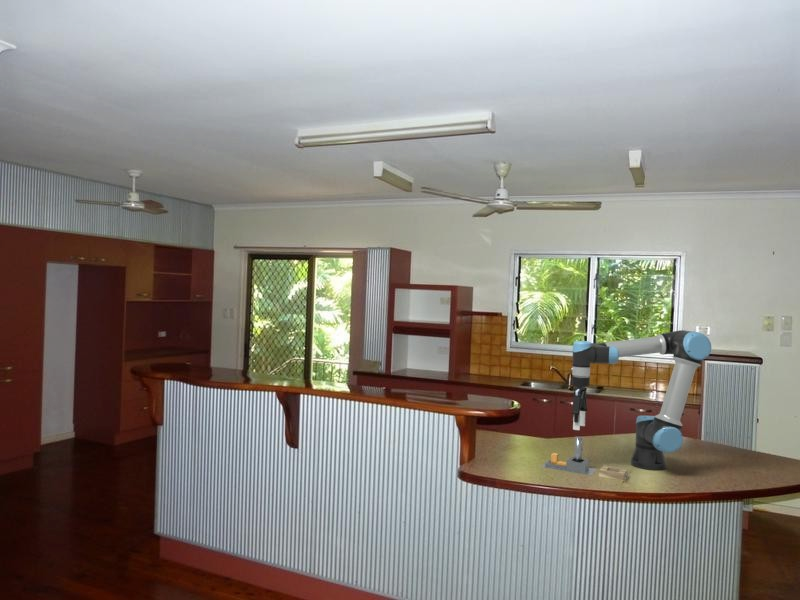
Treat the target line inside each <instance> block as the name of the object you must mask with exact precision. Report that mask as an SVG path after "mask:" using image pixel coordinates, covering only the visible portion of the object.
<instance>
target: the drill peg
mask: <svg viewBox="0 0 800 600" xmlns="http://www.w3.org/2000/svg"><path fill="white" fill-rule="evenodd" d="M573 454H574V455H573V457H574V461H577V462H582V459H583V437H582V436H574V453H573Z"/></svg>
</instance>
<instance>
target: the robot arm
mask: <svg viewBox="0 0 800 600" xmlns="http://www.w3.org/2000/svg"><path fill="white" fill-rule="evenodd" d="M711 352H712V343H711V341H710V339H709V337H708V336H707V335H706V334H704V333H701V332H698V331H695V330H694V331H692V330H682V329H681V330H675V331H669V332H665V333H664V332H663V333H658V334H657V335H656V336H650V337H641V338H640V337H639V338H632V339H631V338H630V339H623V340H614V341H606V342H598V343H597V342H596V343H593V342H590V341H588V340H587V341H586V340H576V341H575V340H574V342H573V345H572V364H571V365H572V367H571V368H570V370H571V371H572V373H571V375H572V377H571V385H573V386H576V387H575V389H574V390H573V399H572V400H573V401H572V412H571V415H573V416H572V417H573V418H572V421H573V423H572V430H574V431H580V430H581V427H585V426H586V412H588V405H587V403H588V402H587V400H588V399H587V390H588V388H587V387H589V386H590V385H591V384H590V383H591V382H590V380H591V378H590V376H591V364H606V365H607V364H608V365H610V364H611V365H615V364H617V363H618V361H619V358H624V357H634V356H643V355H652V354H653V355H654V354H659V355H673V357H672V358H673V360H674V366H673V369H672V373H671V375H670V379H669V381H668V385H667V389H666V392H665V395H664V399H663V402H662V404H661V408H660V412H659V413H658V414H656V415H638V416H637V417H636V421H635V447H634V450H633V453H632V455H631V458H630V464H631V466H633V467H636V468H639V469H643V470H649V471H650V470H651V471H663V470H665V469H666V468H667V461H666V458H665V455H664V453H667V454H669V453H670V454H671V453H674V452H676V451H678V450H679V449H680V448H681V447H682V445H683V443H684V436H683V433H682V432H681V431H682V428H683V423H682V421H681V418H682V415H683V413H684V410H685V409H684V408H685V405H686V403H687V402H686V401H687V399H688V395H689V393H690V389H691V386H692V383H693V380H694V376H695V374H696V370H697V368H699V367H701V366H702V363H703V361H704V360H705V359H706V358H708V357H709V356H710V354H711Z"/></svg>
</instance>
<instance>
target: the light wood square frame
mask: <svg viewBox="0 0 800 600" xmlns="http://www.w3.org/2000/svg"><path fill="white" fill-rule="evenodd" d="M628 474H629V469H628V468H623V467H617V466H612V465H611V466H610V465H602V467H600V469H598V477H601V478H607V479H613V480H620V481H622V482H621V483H622V484H625V482H626V480H627V479H628Z"/></svg>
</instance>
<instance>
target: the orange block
mask: <svg viewBox="0 0 800 600" xmlns="http://www.w3.org/2000/svg"><path fill="white" fill-rule="evenodd" d="M550 456H551V457H550V460H551V464H558V465H564V466H566V461H561V460H559V453H556V452H553V453H551V455H550Z"/></svg>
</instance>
